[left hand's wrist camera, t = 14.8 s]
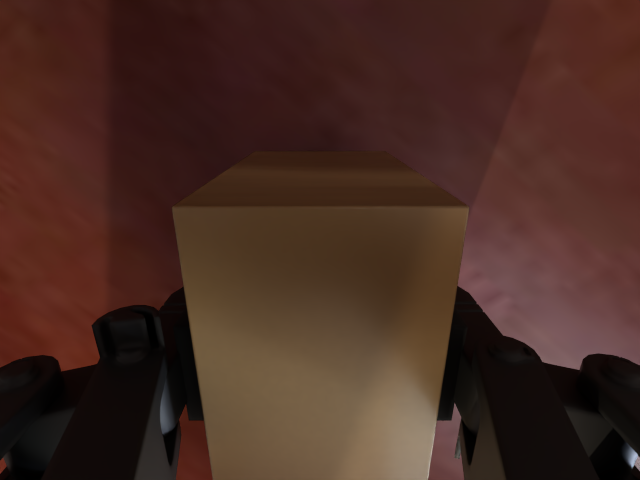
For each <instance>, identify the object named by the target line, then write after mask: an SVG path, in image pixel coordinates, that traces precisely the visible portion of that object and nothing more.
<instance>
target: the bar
mask: <svg viewBox="0 0 640 480" xmlns="http://www.w3.org/2000/svg"><path fill="white" fill-rule="evenodd" d="M172 213H173V219H174V226H175V233H176V239H177V246H178V252H179V259H180V266H181V272H182V279H183V285H184V292H185V299H186V305H187V312H188V318H189V325H190V332H191V338H192V345H193V351H194V358H195V364H196V371H197V378H198V384H199V391H200V397H201V404H202V411H203V417H204V424H205V430H206V437H207V444H208V450H209V457H210V463H211V470H212V477H213V480H428V475H429V468H430V462H431V455H432V449H433V442H434V436H435V429H436V422H437V416H438V409H439V403H440V396H441V390H442V383H443V377H444V370H445V363H446V357H447V350H448V344H449V337H450V331H451V324H452V318H453V311H454V304H455V298H456V291H457V285H458V278H459V272H460V265H461V259H462V252H463V246H464V239H465V232H466V226H467V219H468V213H469V206H467V205H466V204H464V203H463V202H461V201H460V200H458V199H457V198H455V197H454V196H452V195H451V194H449V193H448V192H446V191H445V190H443V189H442V188H440V187H439V186H437V185H436V184H434V183H433V182H431V181H430V180H428V179H427V178H425V177H424V176H422V175H420V174H419V173H417V172H416V171H414V170H413V169H411V168H410V167H408V166H407V165H405V164H404V163H402V162H401V161H399V160H398V159H396V158H395V157H393V156H392V155H390V154H389V153H387V152H386V151H255V152H253V153H251V154H250V155H248V156H247V157H245V158H244V159H242V160H241V161H240V162H238V163H237V164H235V165H234V166H232V167H231V168H229V169H228V170H226V171H225V172H223V173H222V174H220V175H219V176H217V177H216V178H214V179H213V180H211V181H210V182H208V183H207V184H205V185H204V186H202V187H201V188H199V189H198V190H196V191H195V192H193V193H192V194H190V195H189V196H187V197H186V198H184V199H183V200H181V201H180V202H178V203H177V204H175V205H174V206H172Z"/></svg>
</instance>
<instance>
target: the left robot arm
mask: <svg viewBox="0 0 640 480" xmlns="http://www.w3.org/2000/svg"><path fill="white" fill-rule="evenodd" d="M92 329H93V333H94V336H95V340H96V344H97V347H98V351H99V355H100V359H99V361H98V363H97V364H95V365H91V366H87V367H82V368H77V369H72V370H67V371H62V372H61V369H60V366H59V362H58V360H56V359H55V358H54V357H52V356H45V355H40V356H31V357H26V358H22V359H18V360H15V361H13V362H11V363H9V364H7V365H5V366H3V367H1V368H0V460H1V459H2V458H4V460H5V463H6V465H7V467H6V468H5V469H4V470H3V471H2V473H1V474H0V480H176V473H177V465H178V457H179V449H180V441H181V429H180V423H179V418H180V416H181V413H182V411H183V409H184V407H185V405H186V406H187V412H188V418H189V420H204V417H203V411H202V404H201V397H200V391H199V384H198V378H197V371H196V364H195V358H194V351H193V345H192V338H191V332H190V325H189V318H188V312H187V305H186V299H185V292H184V287H182V288H181V289H179V290H178V291H176V292H174V293H173V294H171V296H170V297H169V298H168V299H167V301H166V302H165V303H164V306H162V307H161V308H160V310H159V311H158V310H157V309H155V308H154V307H151V306H147V305H133V306H128V307H123V308H119V309H117V310H114V311H111V312H109V313H107V314H105V315H103V316H102V317H100V318H98V319H97V320H96V321H95V323H94V324H93V325H92ZM454 403H455V404H456V406H457V408H458V411H459V413H460V415H461V423H460V428H459V433H458V439H457V444H456V450H455V457H454V458H458V459H459V458H460V453H461V456H462V464H463V472H464V480H640V471H639V470H638V469H637V468H636V466H635V465H634V464H635V462H636V459H637V457H638V456H639V457H640V365H637V364H635V363H633V362H631V361H630V360H628V359H625V358H622V357H621V358H620V357H618V356H614V355H606V354H592V355H588V356H587V357H585V358H584V359H583V361H582V364H581V367H580V370H576V369H571V368H566V367H561V366H557V365H552V364H548V363H544V362H542V361H541V359H540V357H539V356H538V354H537V353H536V352H535V351H534V350H533V349H532V348H531V347H529V346H528V345H526V344H525V343H523V342H521V341H518V340H516V339H514V338H511V337H506V336H503V335H502V334H501V333H500V331H499V330H498V329H497V328H496V326H495V325H494V324H493V323H492V321H491V320H490V319H489V318H488V316H487V315H486V314H485V312H483V310H482V309H481V307H480V306H479V305H478V304H476V301H475V300H474V299H473V297H472V296H471V295H470V294H469V293H468V292H466V291H465V290H463V289H462V288H460V287H458V286H457V291H456V298H455V304H454V311H453V318H452V324H451V331H450V337H449V344H448V350H447V357H446V363H445V370H444V377H443V383H442V390H441V396H440V403H439V409H438V416H437V420H452V414H453V408H454Z"/></svg>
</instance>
